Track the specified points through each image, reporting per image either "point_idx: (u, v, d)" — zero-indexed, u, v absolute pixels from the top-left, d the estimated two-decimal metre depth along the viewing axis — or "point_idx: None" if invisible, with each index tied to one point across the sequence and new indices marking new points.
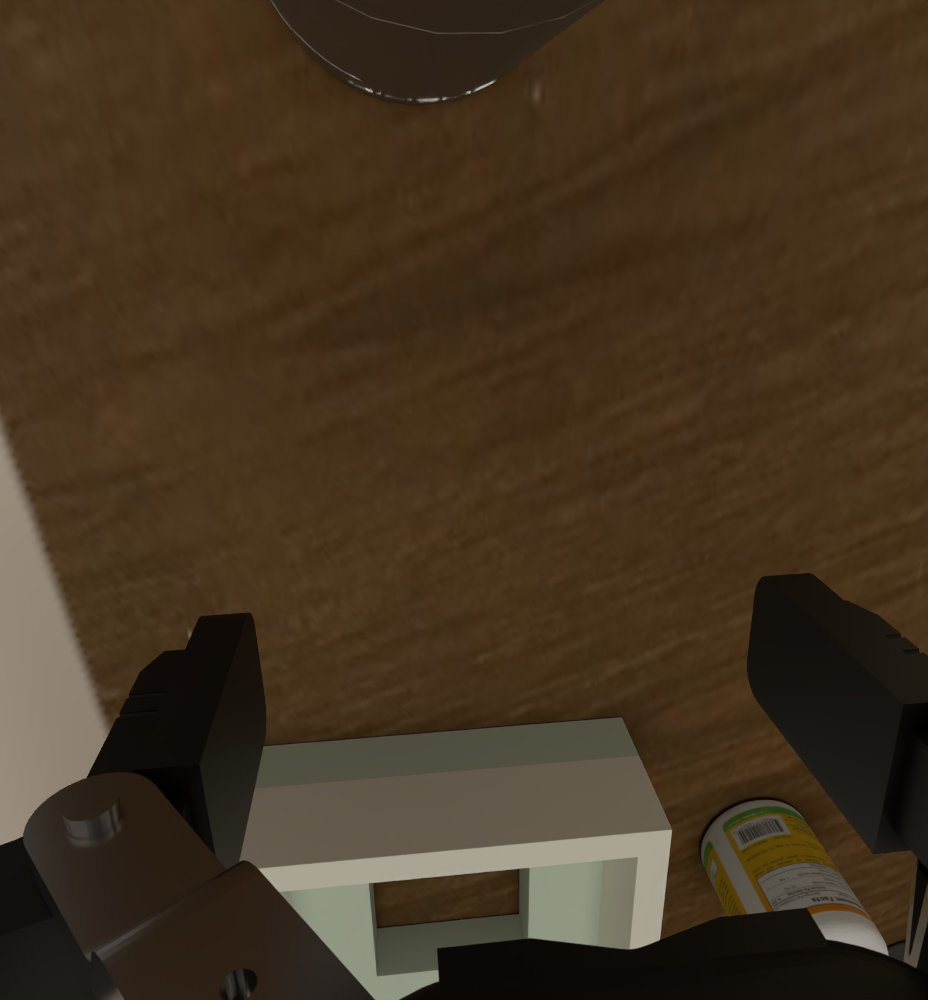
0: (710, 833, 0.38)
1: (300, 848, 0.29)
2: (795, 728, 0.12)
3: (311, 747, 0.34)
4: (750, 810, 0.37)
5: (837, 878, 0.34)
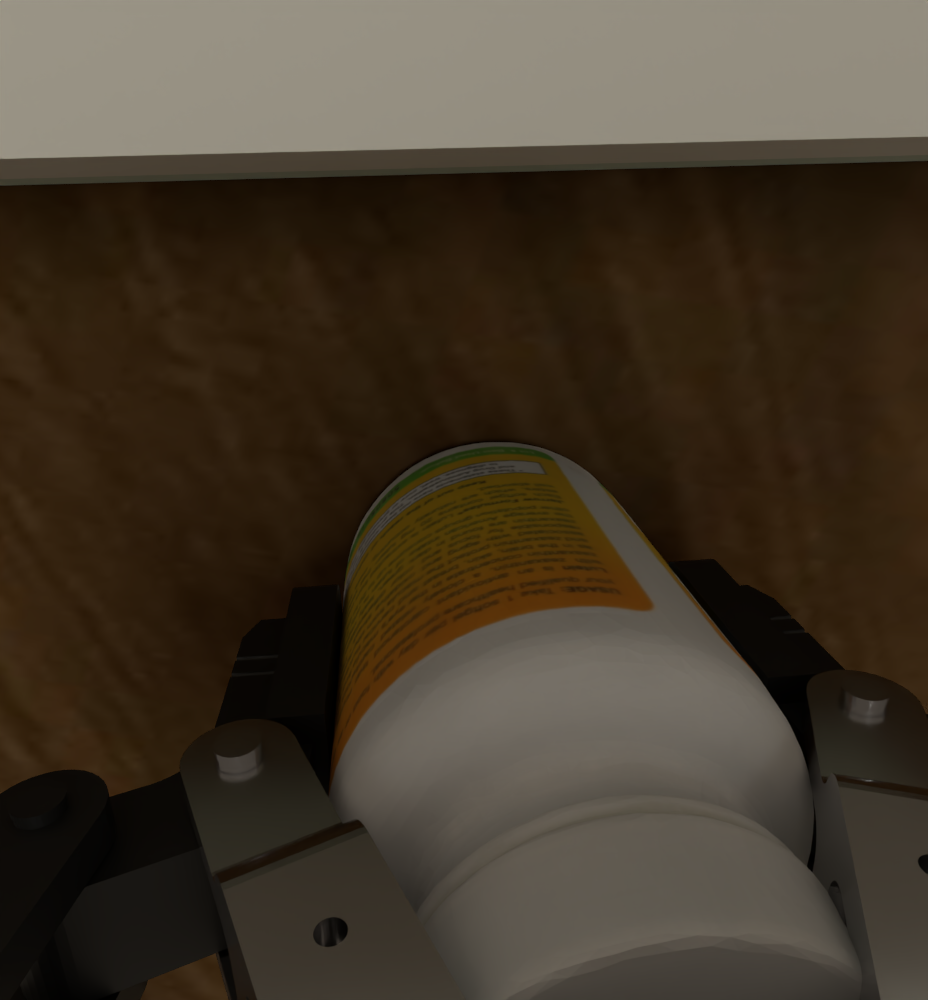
0: (558, 455, 0.14)
1: None
2: None
3: None
4: None
5: None
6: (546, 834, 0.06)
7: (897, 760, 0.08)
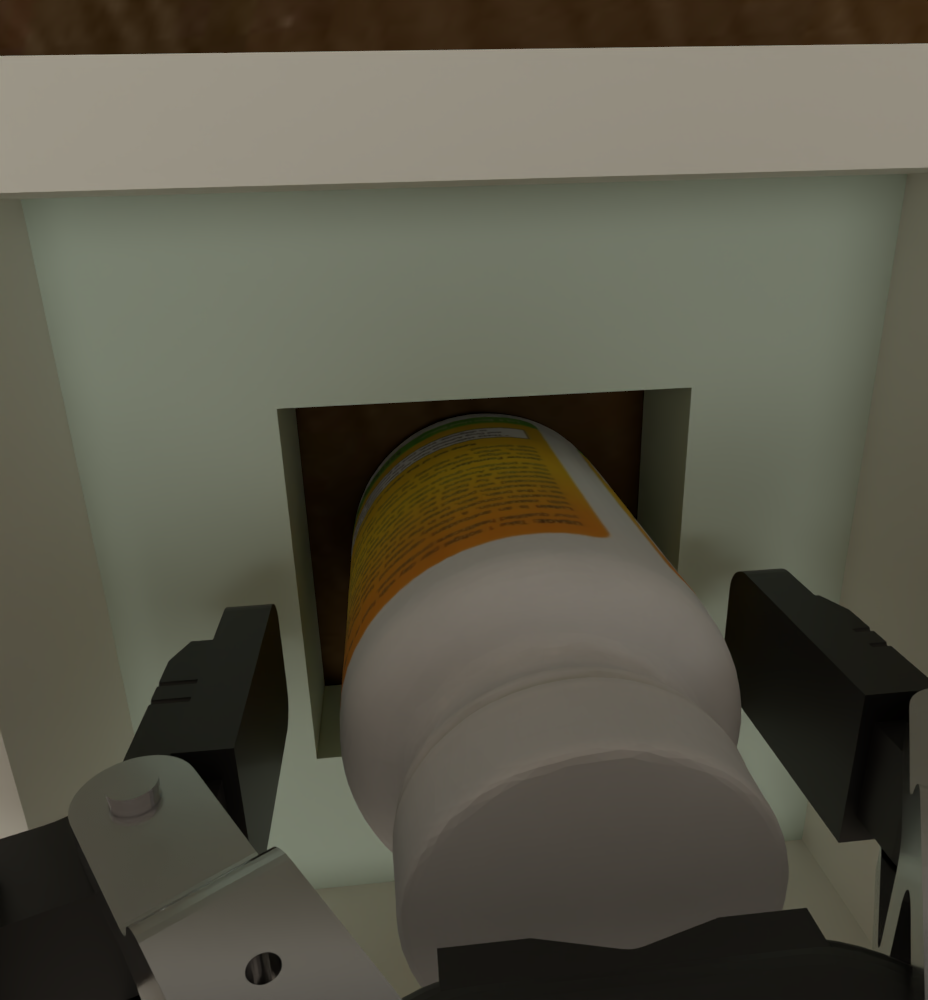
0: (541, 425, 0.16)
1: None
2: (767, 721, 0.12)
3: None
4: None
5: None
6: (513, 692, 0.08)
7: None
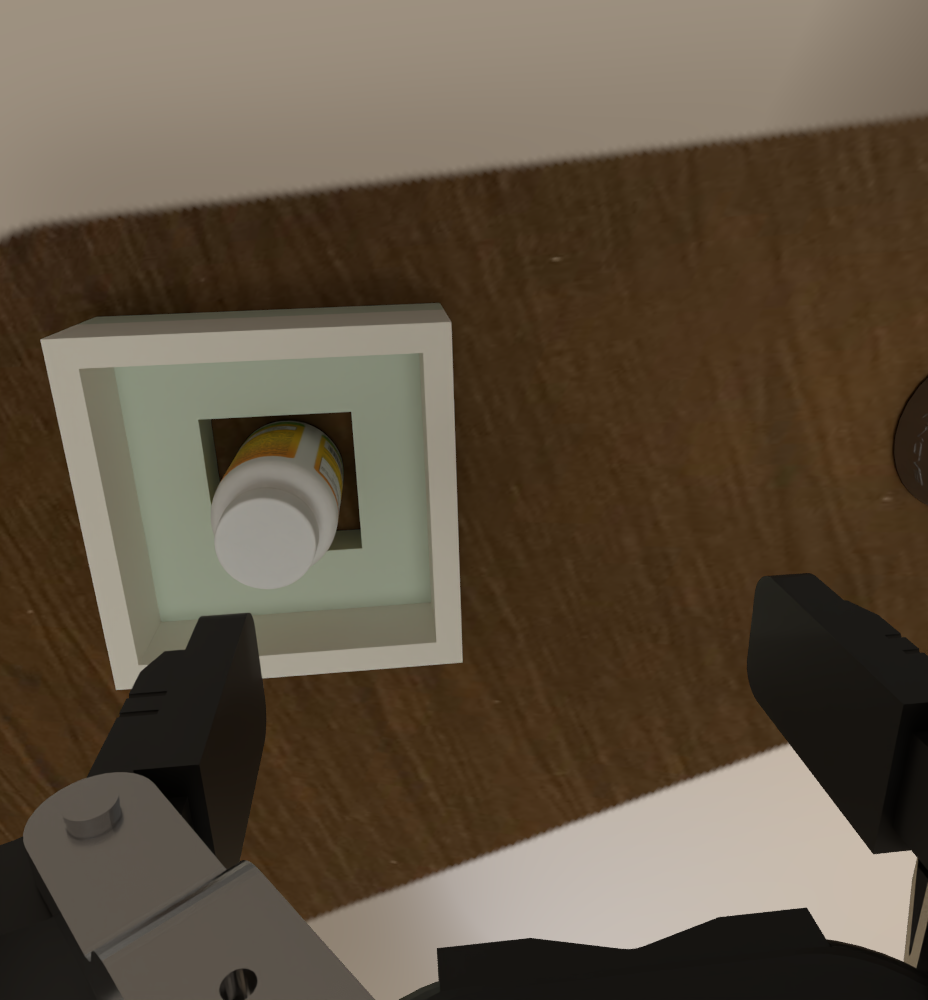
0: (309, 425, 0.39)
1: None
2: (795, 728, 0.12)
3: None
4: (340, 458, 0.40)
5: None
6: (247, 491, 0.32)
7: None
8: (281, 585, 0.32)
